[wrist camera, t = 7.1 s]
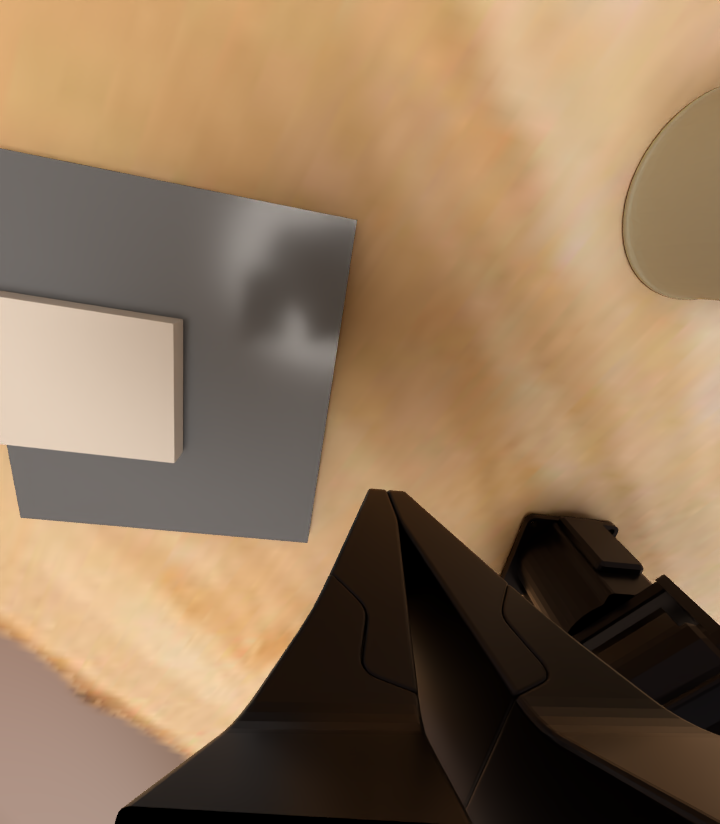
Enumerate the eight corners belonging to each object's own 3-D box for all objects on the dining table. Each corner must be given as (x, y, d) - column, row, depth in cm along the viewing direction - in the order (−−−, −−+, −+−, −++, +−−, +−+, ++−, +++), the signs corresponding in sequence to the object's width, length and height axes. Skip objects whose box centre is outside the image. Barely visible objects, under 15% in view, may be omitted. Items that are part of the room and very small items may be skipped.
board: (308, 531, 24) (307, 542, 23) (33, 506, 22) (20, 517, 21) (355, 221, 18) (357, 220, 17) (-30, 144, 16) (-53, 137, 15)
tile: (174, 463, 19) (-2, 443, 18) (184, 449, 20) (20, 431, 19) (173, 323, 17) (-33, 291, 16) (184, 318, 18) (-5, 288, 17)
